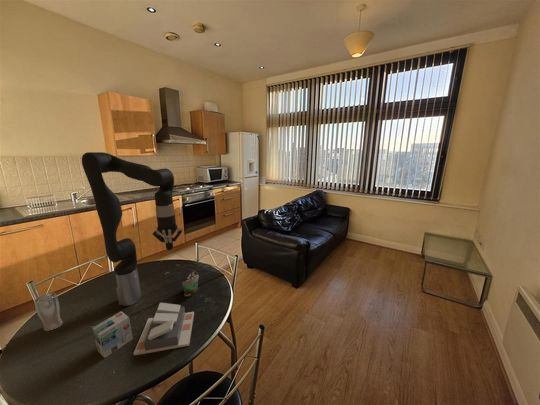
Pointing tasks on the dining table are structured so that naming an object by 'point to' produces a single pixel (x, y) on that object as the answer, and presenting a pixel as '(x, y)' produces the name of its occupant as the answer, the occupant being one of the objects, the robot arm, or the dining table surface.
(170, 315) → the rocker middle
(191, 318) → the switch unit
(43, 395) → the dining table surface
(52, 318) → the beer glass
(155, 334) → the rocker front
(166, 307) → the rocker back
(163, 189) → the robot arm
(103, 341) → the light bulb box
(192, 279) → the food container
